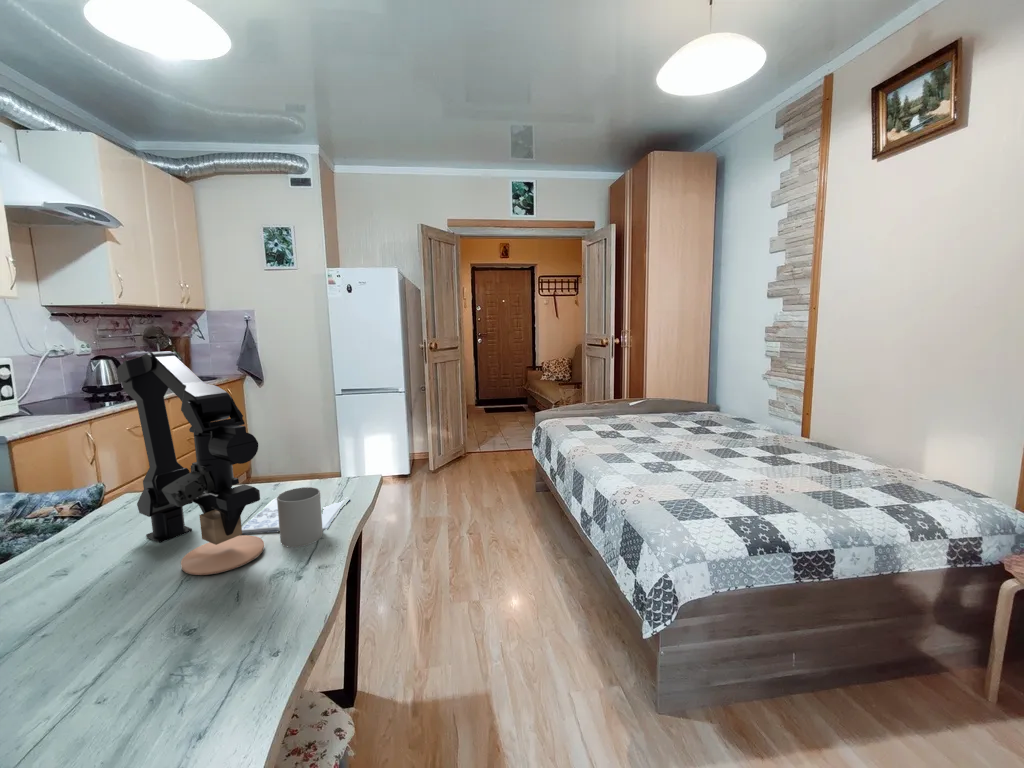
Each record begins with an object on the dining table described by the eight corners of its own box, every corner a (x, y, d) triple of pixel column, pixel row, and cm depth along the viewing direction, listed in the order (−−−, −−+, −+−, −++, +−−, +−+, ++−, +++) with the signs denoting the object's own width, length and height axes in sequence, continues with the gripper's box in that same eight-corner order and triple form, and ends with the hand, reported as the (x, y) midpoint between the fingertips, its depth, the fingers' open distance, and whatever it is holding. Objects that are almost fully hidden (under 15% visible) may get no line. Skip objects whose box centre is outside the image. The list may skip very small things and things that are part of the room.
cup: (306, 548, 93) (302, 503, 92) (271, 545, 95) (268, 500, 94) (330, 530, 101) (327, 488, 100) (298, 527, 103) (295, 486, 102)
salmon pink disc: (167, 566, 87) (166, 559, 87) (239, 536, 99) (239, 530, 99) (206, 585, 80) (205, 578, 80) (279, 551, 92) (278, 544, 92)
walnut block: (202, 539, 88) (199, 515, 88) (228, 528, 93) (225, 505, 92) (216, 544, 86) (213, 520, 85) (242, 534, 90) (240, 510, 89)
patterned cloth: (275, 503, 119) (274, 495, 118) (352, 501, 120) (352, 493, 119) (235, 537, 100) (234, 528, 99) (328, 534, 101) (327, 525, 101)
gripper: (141, 460, 84) (151, 538, 87) (193, 475, 75) (203, 562, 78) (205, 446, 94) (212, 516, 96) (258, 458, 85) (265, 535, 87)
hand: (221, 531), depth 89 cm, fingers closed on walnut block, 5 cm apart
